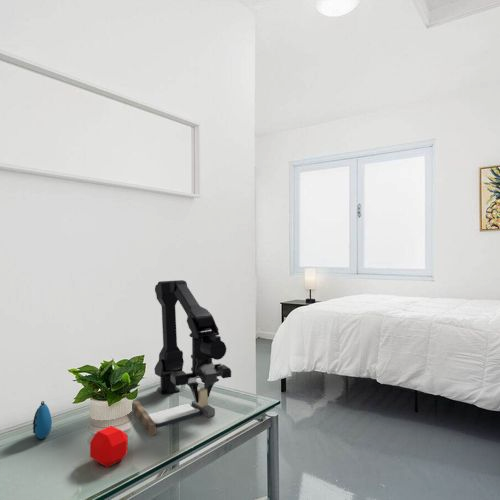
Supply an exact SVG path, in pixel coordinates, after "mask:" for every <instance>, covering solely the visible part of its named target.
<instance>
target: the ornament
mask: <svg viewBox="0 0 500 500" xmlns="http://www.w3.org/2000/svg"><path fill="white" fill-rule="evenodd" d="M33 416H34V417H33V422H32V430H33V432H32V433H33V434H34V437H36V438H38V439H39V440H40V439H41V440H43V439H45V438H47V436H49V434H50V433H51V430H52V426H53V425H52V423H53V421H52V414H51V411H50V409H49V406H48V405H47V404H46V403H45V401H44V400H42V401H41V403H40V405H39V406H38V408H37V409H36V411H35V413H34V415H33Z"/></svg>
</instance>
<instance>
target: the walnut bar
mask: <svg viewBox="0 0 500 500" xmlns="http://www.w3.org/2000/svg"><path fill="white" fill-rule="evenodd" d="M133 413H134V414H135V415H136V417H137V419H138V420H139V421H140V423H141V425H142V426H143V427H144V429H145V430H146V432H147V434H148V435H149V436H150V437H152V436H155V435H156V427H155V423H154V422H153V420H152V419H151V417H150V416H149V415H148V414H149V413H148V412H147V410H146V409H145V408H144V406H143V405H142V404H141V403H140V400H135V401H133Z"/></svg>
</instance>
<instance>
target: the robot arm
mask: <svg viewBox="0 0 500 500" xmlns="http://www.w3.org/2000/svg"><path fill="white" fill-rule="evenodd" d="M154 292H155V296H156V300H157V301H158V303H159V305H160V306H161V322H162V323H161V325H162V327H161V328H162V348H161V350H160V352H159V354H158V361H157V363H156V365H155V366H154V369H153V370H154V375H156V376H158V377H160V379H159V380H160V386H159V387H157V391H158V392H160V393H161V395H167V394H172V393H177V392H180V391H181V390H180V389H179V388H178V387H179V386H183V385H187V386H188V387H189V389H190V391H191V392H192V393H191V394H192V396H193V398H194V400H195V401H196V403H198V389H199V388H198V386H199V383H198V382H197V379H200V380H201V382H202V384H203V388H205V389H207V396H208V398H210V394H211V392H212V388H213V386H214V385H215V384H216V383H217V382H219V381H220V380H219V378H218V377H221V378H222V379H228V378H231V377H232V370H231V368H230V367H228V366H227V365H225V364H222V363H213V360H217V361H219V360H222V359H223V358H224V357H225V355H226V354H227V353H226V352H227V346H226V344H225V342H224V341H223V340H221V339H222V337H221V336H219V335H220V333H219V328H218V326H217V324H216V321H215V319H214V316H213V315H212V313H211V312H210V311H209V310H208V309H207V308H205V307H202V306H201V305H200V304H199V303H198V300H197V299H196V298H195V296H194V295H193V293H192V291H191V290H190V289H189V287H188V284H187V282H186V280H183V279H182V280H181V279H180V280H162V281H161V280H160V281H158V282H157V284H156V285H154ZM178 302H179V304H180V305H181V307H182V309H183V310H184V313H186V316H187V317H186V323H187V326H188V329H189V330H190V334H189V338H191V346H192V347H191V353H192V354H190V358H191V360H192V361H191V363H192V366H191V367H190V371H191V372H189V373H187V372H185V371H184V370H183V368H184V364H185V361H184V352H183V350H180V348H179V347H178V340H177V339H178V336H177V333H178V332H177V318H176V317H177V316H176V315H177V314H176V312H177V311H176V305H177V303H178Z"/></svg>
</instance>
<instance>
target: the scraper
mask: <svg viewBox="0 0 500 500" xmlns="http://www.w3.org/2000/svg"><path fill="white" fill-rule="evenodd" d="M191 404H192V405H193V406H195V407H197V408H198V409H200V410H201V415H203V416H206V417H207V418H210V417H213V416H215V415H216V410H215V409H216V408H214V407H213V406H211V405H210V404H209V397H208V396H207V389H205V388H204V387H199V388H198V403H196V401H195V399H194V400H191Z"/></svg>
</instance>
